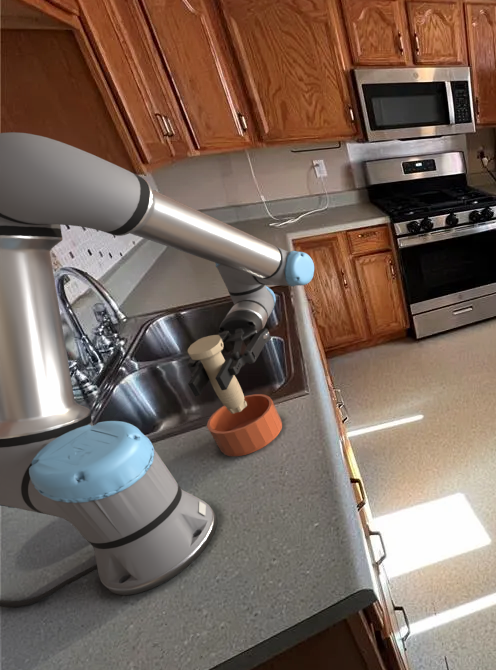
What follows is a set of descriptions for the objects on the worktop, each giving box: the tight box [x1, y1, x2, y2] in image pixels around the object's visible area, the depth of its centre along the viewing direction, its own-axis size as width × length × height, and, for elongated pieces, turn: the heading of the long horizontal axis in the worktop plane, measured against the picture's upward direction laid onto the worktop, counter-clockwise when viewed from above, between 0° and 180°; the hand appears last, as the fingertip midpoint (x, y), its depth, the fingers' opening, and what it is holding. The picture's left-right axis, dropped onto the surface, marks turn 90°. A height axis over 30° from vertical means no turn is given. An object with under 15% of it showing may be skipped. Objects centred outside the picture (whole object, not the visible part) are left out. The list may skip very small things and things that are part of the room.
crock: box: [206, 393, 283, 457], centre depth 89 cm, size 12×12×6 cm
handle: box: [187, 334, 247, 414], centre depth 77 cm, size 5×6×15 cm
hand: (207, 386), depth 72 cm, fingers closed on handle, 3 cm apart
